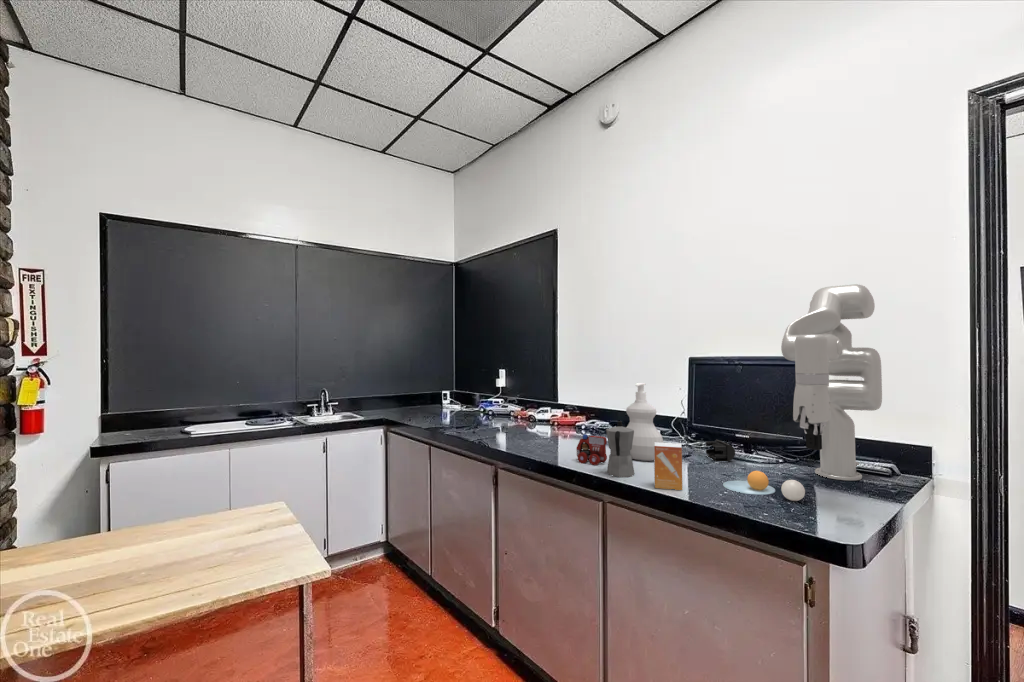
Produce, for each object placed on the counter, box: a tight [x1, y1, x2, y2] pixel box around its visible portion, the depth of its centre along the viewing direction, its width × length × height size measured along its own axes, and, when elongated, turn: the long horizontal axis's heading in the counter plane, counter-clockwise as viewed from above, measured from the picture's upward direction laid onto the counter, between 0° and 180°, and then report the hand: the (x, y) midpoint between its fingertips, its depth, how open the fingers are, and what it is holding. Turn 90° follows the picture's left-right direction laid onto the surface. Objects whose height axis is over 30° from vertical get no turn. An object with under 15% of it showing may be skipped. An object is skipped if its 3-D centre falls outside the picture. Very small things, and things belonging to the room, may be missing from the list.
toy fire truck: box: [576, 433, 608, 466], centre depth 171 cm, size 7×12×10 cm, turn 49°
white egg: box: [780, 479, 806, 502], centre depth 125 cm, size 6×6×6 cm
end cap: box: [705, 439, 736, 462], centre depth 174 cm, size 10×7×7 cm
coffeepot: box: [605, 420, 635, 478], centre depth 154 cm, size 15×9×18 cm, turn 160°
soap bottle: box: [625, 382, 664, 462], centre depth 176 cm, size 17×12×29 cm
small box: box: [653, 442, 683, 491], centre depth 139 cm, size 8×6×13 cm
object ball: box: [746, 470, 770, 490], centre depth 135 cm, size 6×6×6 cm
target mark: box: [722, 479, 776, 496], centre depth 137 cm, size 14×14×1 cm
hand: (814, 448), depth 121 cm, fingers closed
